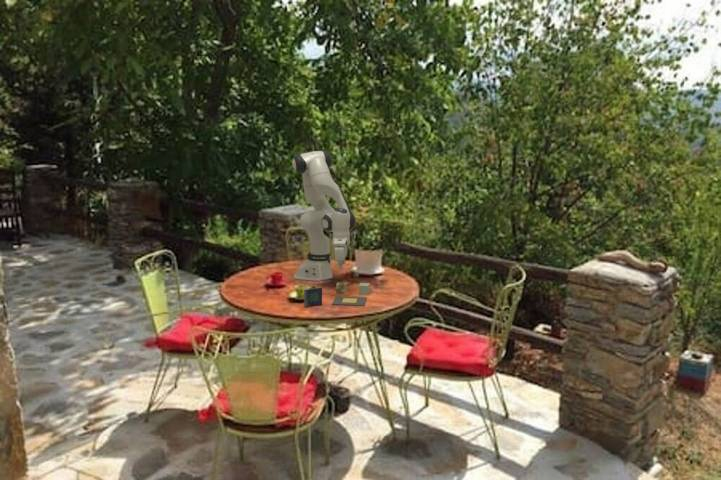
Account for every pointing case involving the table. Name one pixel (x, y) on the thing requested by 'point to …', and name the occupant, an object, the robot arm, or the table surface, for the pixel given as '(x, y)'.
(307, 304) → the dark blue box
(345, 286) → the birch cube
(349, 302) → the mat
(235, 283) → the table surface
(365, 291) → the sage cube
